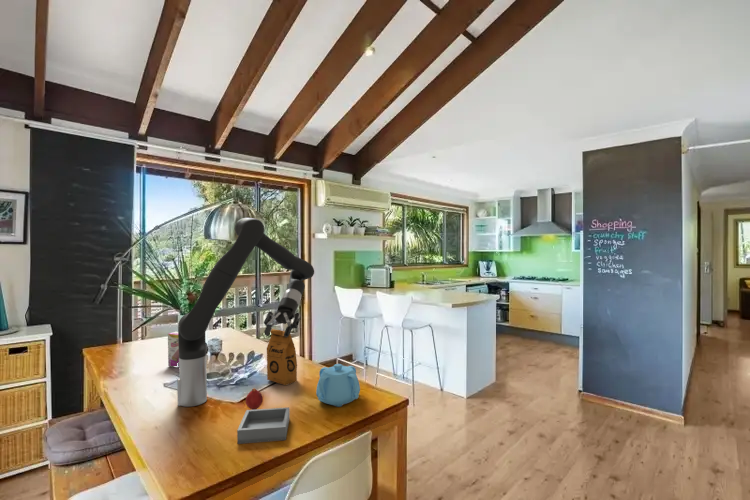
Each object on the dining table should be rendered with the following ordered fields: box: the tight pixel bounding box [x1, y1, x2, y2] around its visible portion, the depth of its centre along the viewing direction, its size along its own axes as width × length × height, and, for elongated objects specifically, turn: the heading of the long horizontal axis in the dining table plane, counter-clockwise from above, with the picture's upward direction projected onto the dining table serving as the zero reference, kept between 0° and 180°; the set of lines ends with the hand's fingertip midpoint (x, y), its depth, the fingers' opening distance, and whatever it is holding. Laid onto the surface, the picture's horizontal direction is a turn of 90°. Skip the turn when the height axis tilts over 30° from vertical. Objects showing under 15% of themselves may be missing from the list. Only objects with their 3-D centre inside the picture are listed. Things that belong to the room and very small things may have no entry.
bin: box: [236, 406, 291, 445], centre depth 121 cm, size 14×14×4 cm
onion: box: [245, 387, 264, 410], centre depth 136 cm, size 6×6×8 cm
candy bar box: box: [167, 331, 179, 366], centre depth 185 cm, size 11×5×16 cm, turn 71°
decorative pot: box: [316, 363, 361, 408], centre depth 144 cm, size 16×16×14 cm
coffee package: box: [266, 328, 298, 386], centre depth 164 cm, size 10×12×22 cm
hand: (275, 335), depth 149 cm, fingers open, 8 cm apart
